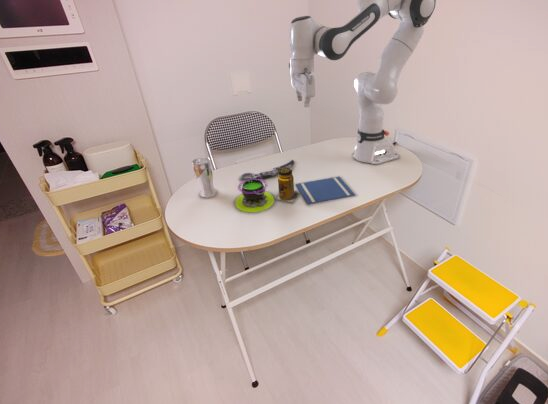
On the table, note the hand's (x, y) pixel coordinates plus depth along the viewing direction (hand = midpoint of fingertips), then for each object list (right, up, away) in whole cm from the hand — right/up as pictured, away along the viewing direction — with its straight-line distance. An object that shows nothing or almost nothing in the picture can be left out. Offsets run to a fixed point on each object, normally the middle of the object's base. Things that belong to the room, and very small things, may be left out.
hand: (303, 103), depth 122 cm
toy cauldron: (-19, -40, -3) cm, 44 cm away
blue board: (+9, -35, +4) cm, 36 cm away
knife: (-15, -26, +18) cm, 35 cm away
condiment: (-6, -37, 0) cm, 38 cm away
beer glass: (-39, -37, +2) cm, 53 cm away
